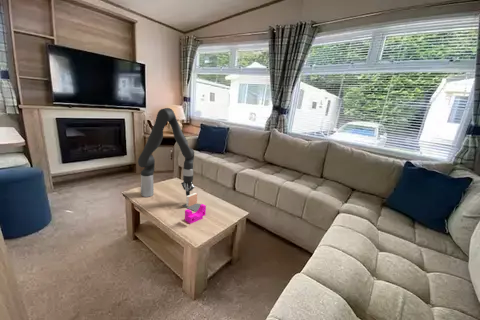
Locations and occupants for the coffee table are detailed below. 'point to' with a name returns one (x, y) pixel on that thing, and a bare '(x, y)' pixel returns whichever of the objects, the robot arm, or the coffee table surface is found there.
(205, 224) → the coffee table surface
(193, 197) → the tile
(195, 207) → the mat
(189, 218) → the magenta pipe clamp half
